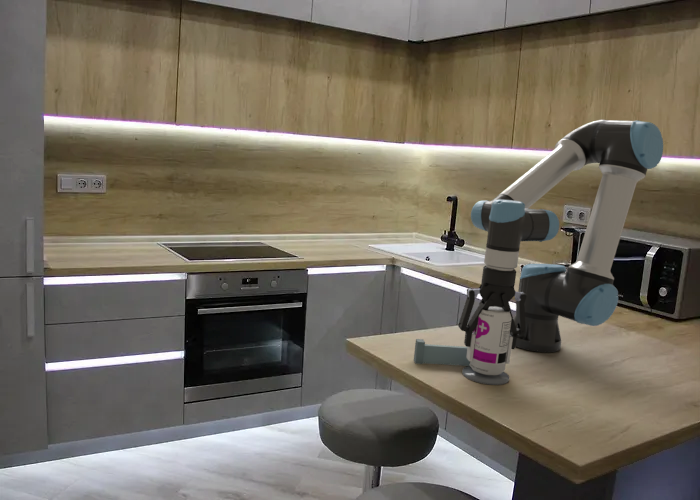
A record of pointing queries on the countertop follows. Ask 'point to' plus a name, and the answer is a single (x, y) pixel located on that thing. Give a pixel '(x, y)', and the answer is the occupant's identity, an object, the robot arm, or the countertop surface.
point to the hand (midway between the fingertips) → (487, 360)
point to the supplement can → (491, 341)
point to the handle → (440, 354)
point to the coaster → (485, 377)
